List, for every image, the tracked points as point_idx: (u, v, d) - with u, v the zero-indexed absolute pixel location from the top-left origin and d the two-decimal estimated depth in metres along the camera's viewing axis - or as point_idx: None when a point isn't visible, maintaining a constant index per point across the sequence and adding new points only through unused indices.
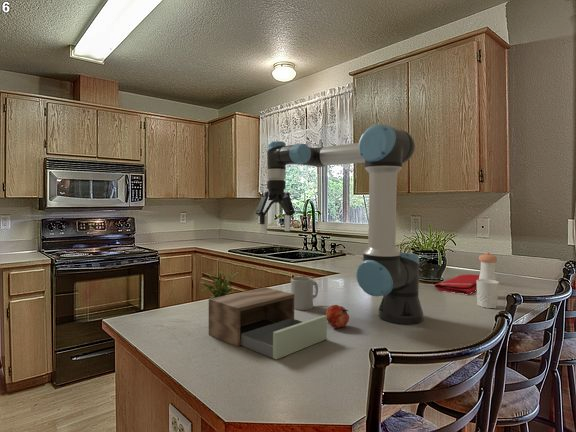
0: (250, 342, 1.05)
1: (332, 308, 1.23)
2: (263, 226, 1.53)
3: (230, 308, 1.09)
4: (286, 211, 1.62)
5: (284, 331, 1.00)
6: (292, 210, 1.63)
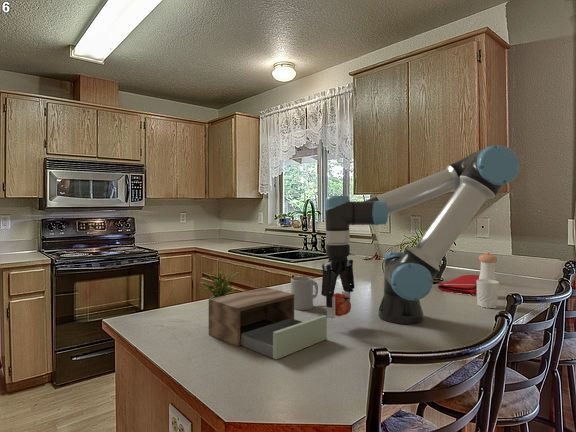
0: (250, 342, 1.05)
1: (334, 296, 1.23)
2: (330, 310, 1.21)
3: (230, 308, 1.09)
4: (345, 285, 1.27)
5: (284, 331, 1.00)
6: (352, 284, 1.28)
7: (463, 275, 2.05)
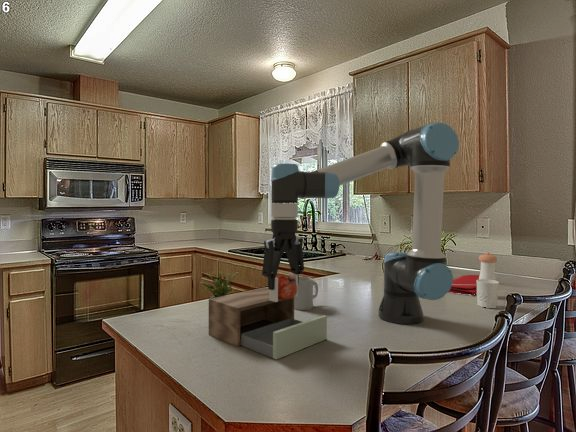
0: (250, 342, 1.05)
1: (278, 277, 1.09)
2: (272, 293, 1.07)
3: (230, 308, 1.09)
4: (293, 266, 1.12)
5: (284, 331, 1.00)
6: (301, 265, 1.13)
7: (464, 275, 2.04)
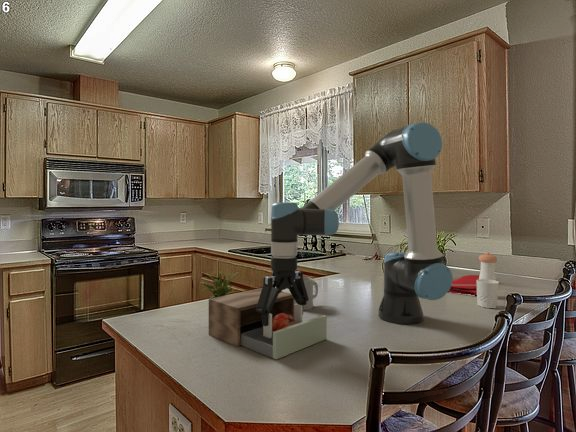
0: (250, 342, 1.05)
1: (278, 317, 1.09)
2: (266, 329, 1.06)
3: (230, 308, 1.09)
4: (297, 299, 1.14)
5: (284, 331, 1.00)
6: (305, 297, 1.15)
7: None
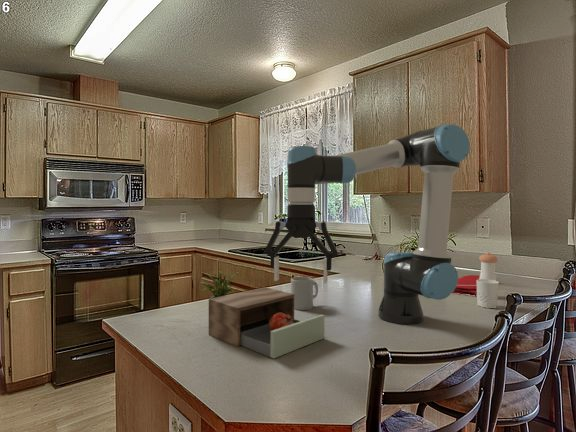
0: (248, 342, 1.05)
1: (275, 316, 1.10)
2: None
3: (230, 308, 1.09)
4: None
5: (281, 330, 1.00)
6: (332, 251, 1.02)
7: None
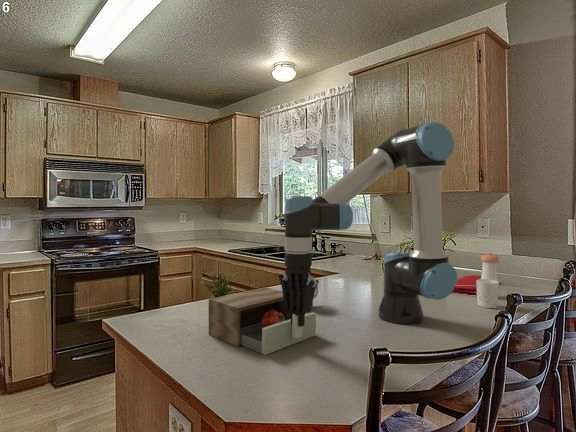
0: (240, 339, 1.07)
1: (268, 314, 1.12)
2: None
3: (230, 308, 1.09)
4: None
5: (273, 327, 1.03)
6: (303, 307, 1.03)
7: (466, 276, 2.03)
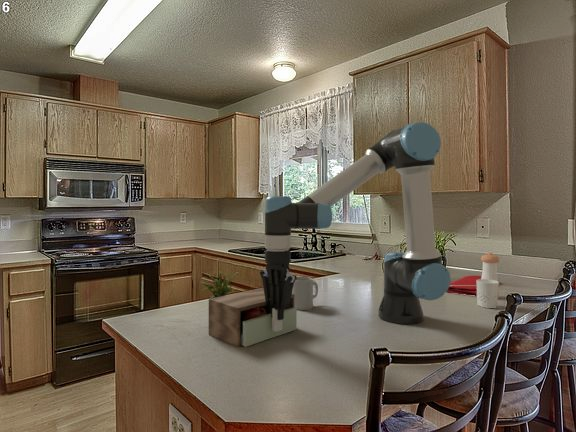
0: None
1: None
2: None
3: (230, 308, 1.09)
4: None
5: (253, 321, 1.08)
6: (281, 301, 1.09)
7: (467, 276, 2.03)
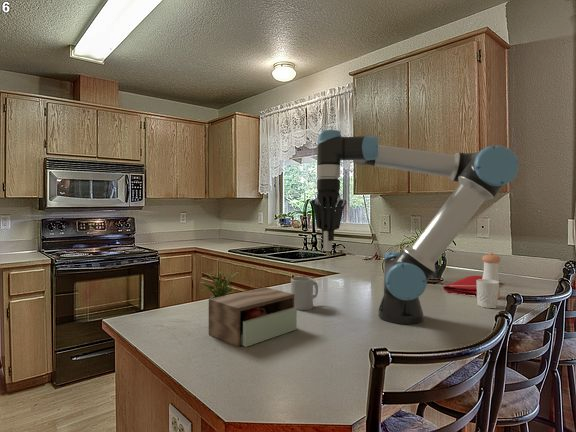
0: None
1: None
2: None
3: (230, 308, 1.09)
4: None
5: (253, 321, 1.08)
6: (333, 223, 1.23)
7: None
